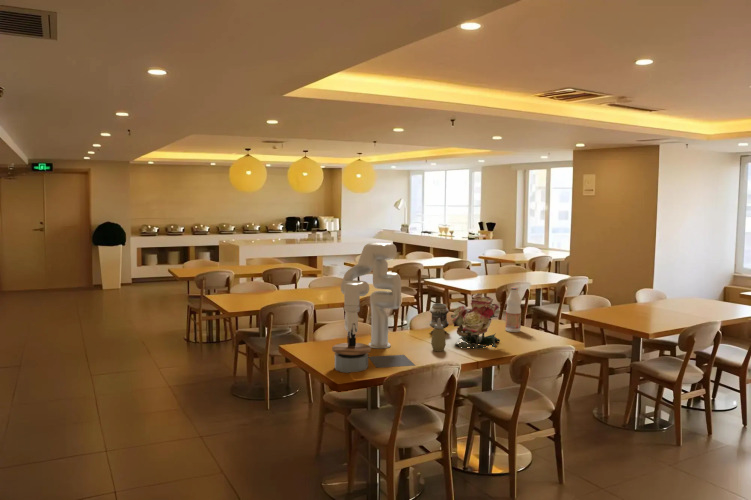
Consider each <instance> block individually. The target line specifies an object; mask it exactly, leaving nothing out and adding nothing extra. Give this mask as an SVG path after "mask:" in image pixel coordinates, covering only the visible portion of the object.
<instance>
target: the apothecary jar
mask: <svg viewBox="0 0 751 500" xmlns="http://www.w3.org/2000/svg"><path fill="white" fill-rule="evenodd" d="M429 312H430V313H431V320H430V321H429V326H430V327H431V328H433V329H434V328H435V324H437V321H438V318H440V320H441V324H442V325H443V329H444V330H445V329H446V328H448V327H449V324H450V323H449V321H448V320H447V319H448V317H447V316H448V315H447V314H449V312H450V311H449V309H448V307H447V304H445V303H433V304H432V307H430V309H429ZM430 333H431V334H433V330H431V331H430ZM446 334H447V331H446V330H445V335H446Z"/></svg>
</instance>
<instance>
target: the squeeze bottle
mask: <svg viewBox="0 0 751 500" xmlns="http://www.w3.org/2000/svg"><path fill="white" fill-rule="evenodd" d="M432 331H433V333H431V335H432V336H431V337H432V338H431V348H432V350H433V351H435V352H444V351H445V348H446V342H447V341H446V334H445V331H446V330H445V328H444V329H443V325H442V324H441V320H440V318H438V321H437V324H435V328H433V329H432Z"/></svg>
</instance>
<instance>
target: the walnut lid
mask: <svg viewBox="0 0 751 500" xmlns="http://www.w3.org/2000/svg"><path fill="white" fill-rule="evenodd" d="M347 336H348V343H347V342H343V343H337V344H334V345H332V348H331V351H332V352H333V353H334V354H335V353H337V354H342V355H361V354H366V353H367V354H369V353H370V352H371V350H372V348H371V347H370V346H369V345H368V344H365V343H362V342H361V343H360V342H356V346H349V338H350V335H348V334H347Z"/></svg>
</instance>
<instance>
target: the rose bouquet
mask: <svg viewBox="0 0 751 500" xmlns="http://www.w3.org/2000/svg"><path fill="white" fill-rule="evenodd" d="M471 298H472V299H471V300H470V303H469V304H470V306H471V310H470V309H468V308H467V307H466V305H465V304H464V305H460V306H458V307H456V308H455V309H454V311H453V314H451V315H450V318H451V319H452V321H451V322H452V324H453V327H454V328H455V327H456V333H457V335H458V336H459V337H460V338H458V340H459V339H462V340H463V341H465V342H461V343H459V344H456V346H458V347H459V349H463V348H467V347H470V348H473V347H474V349H473V350H475V349H478V350H479V349H480V348H483V347H486V346H488V345H492V344H493V345H492V347H495V348H496V342H498V343H499V342H500V343H501V340H500V339H499V338H497V337H496V336H495V335H496V333H494V334H491V335H487V336H485V333H487V332H488V329H489V327H490V325H491V323H492V318H493V319H494V318H498V315H496V314H497V310H499V309H500V305H498V304H497V303H493V301H494V298H492V297H490V296H486V295H483V294H482V293H475V294H473V295H472V297H471ZM466 341H468V343H470V344H467V343H466ZM471 343H475V345H472V344H471ZM478 344H487V345H486V346H483V345H478ZM461 347H462V348H461Z"/></svg>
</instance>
